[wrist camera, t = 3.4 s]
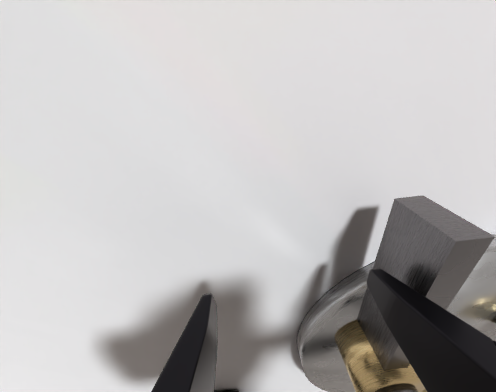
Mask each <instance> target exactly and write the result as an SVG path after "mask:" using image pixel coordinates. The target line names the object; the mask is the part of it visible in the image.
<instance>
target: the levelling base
mask: <svg viewBox="0 0 496 392" xmlns="http://www.w3.org/2000/svg"><path fill="white" fill-rule="evenodd" d="M493 236H494V237H495V238H494V239H493V241H492V242H491V244H490V245H489V247H488V248H487V250H486V251H485V253H484V254H483V256H482V257H481V259H480V260H479V262H478V263H477V265H476V266H475V268H474V269H473V271H472V272H471V274H470V275H469V277H468V278H467V280H466V281H465V283H464V284H463V286H462V287H461V288H460V290H459V291H458V293H457V294H456V296H455V297H454V299H453V300H452V302H451V303H450V305H449V306H448V308H447V309H446V310H447V311H449V312H450V313H452V314H453V315H455V316H457V317H458V318H460V319H461V320H463V321H464V322H466V323H468V324H469V325H471V326H472V327H474V328H476V329H477V330H479V331H480V332H482V333H483V334H485V335H487V336H488V337H490V338H491V339H492V340H494V341H496V235H493ZM374 263H375V262H373V263H371V264H370V265H368V266H366V267H364V268H362V269H360V270H358V271H357V272H355V273H353V274H352V275H350V276H349V277H347V278H346V279H344V280H343V281H341V282H340V283H338V284H337V285H336V286H335V287H333V288H332V289H331V290H329V291H328V292H327V293H326V294H325V295H324V296H323V297H322V298H321V299H320V300H319V301H317V302H316V304H315V305H314V306H313V307H312V308H311V310H310V311H309V312H308V313H307V315H306V317H305V318H304V320H303V322H302V323H301V326H300V329H299V331H298V337H297V346H298V351H299V355H300V359H301V363H302V367H303V371H304V373H305V376H306V377H307V378H308V380H309V381H310V382H311V383H312V384H314V385H315V386H317V387H318V388H320V389H322V390H325V391H328V392H356V391H355V389H354V386H353V384H352V381H351V379H350V376H349V374H348V371H347V369H346V366H345V364H344V361H343V359H342V356H341V354H340V351H339V349H338V347H337V344H336V342H335V338H334V337H335V334H336V332H337V331H338V330H339V329H340V328H341V327H342V326H344V325H345V324H347V323H349V322H351V321H354V320H357V317H358V314H359V311H360V308H361V304H362V301H363V298H364V295H365V292H366V289H367V278H368V274H369V271H370V270H371V269H373V266H374ZM422 392H427V391H426V389H424V390H423V391H422Z"/></svg>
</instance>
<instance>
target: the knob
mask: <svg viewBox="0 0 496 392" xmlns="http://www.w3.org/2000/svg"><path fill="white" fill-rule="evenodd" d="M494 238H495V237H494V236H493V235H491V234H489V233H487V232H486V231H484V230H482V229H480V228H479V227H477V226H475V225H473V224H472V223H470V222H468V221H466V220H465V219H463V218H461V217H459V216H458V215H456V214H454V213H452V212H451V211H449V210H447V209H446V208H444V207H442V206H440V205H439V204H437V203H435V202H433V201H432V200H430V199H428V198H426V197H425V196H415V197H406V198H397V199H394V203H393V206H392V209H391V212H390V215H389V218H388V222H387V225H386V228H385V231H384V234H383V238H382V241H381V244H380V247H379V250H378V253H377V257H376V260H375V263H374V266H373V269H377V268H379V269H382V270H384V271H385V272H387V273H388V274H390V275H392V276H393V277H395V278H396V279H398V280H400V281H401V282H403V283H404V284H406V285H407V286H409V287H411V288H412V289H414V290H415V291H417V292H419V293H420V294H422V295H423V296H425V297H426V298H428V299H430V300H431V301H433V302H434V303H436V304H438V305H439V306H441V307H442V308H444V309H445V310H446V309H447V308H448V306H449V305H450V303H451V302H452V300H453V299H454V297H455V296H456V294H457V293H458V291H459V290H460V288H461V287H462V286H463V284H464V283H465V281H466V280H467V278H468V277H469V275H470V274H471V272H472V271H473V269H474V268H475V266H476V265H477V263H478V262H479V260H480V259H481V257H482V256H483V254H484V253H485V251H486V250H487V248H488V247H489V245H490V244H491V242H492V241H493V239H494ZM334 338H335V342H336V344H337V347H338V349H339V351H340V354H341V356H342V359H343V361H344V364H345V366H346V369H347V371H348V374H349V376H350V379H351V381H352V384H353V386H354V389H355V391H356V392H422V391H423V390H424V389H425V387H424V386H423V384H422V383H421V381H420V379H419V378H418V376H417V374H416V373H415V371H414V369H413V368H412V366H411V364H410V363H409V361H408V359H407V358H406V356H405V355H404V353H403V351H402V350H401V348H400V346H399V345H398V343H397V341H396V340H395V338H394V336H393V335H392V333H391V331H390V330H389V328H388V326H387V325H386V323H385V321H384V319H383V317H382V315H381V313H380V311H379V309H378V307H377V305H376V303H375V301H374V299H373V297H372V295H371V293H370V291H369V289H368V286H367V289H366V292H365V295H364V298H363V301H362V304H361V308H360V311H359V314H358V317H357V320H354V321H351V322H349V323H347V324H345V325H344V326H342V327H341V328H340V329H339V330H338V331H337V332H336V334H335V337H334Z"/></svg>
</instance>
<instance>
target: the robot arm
mask: <svg viewBox="0 0 496 392" xmlns="http://www.w3.org/2000/svg"><path fill="white" fill-rule="evenodd" d="M367 286H368V289H369V291H370V293H371V295H372V297H373V299H374V301H375V303H376V305H377V307H378V309H379V311H380V313H381V315H382V317H383V319H384V321H385V323H386V325H387V326H388V328H389V330H390V331H391V333H392V335H393V336H394V338H395V340H396V341H397V343H398V345H399V346H400V348H401V350H402V351H403V353H404V355H405V356H406V358H407V359H408V361H409V363H410V364H411V366H412V368H413V369H414V371H415V373H416V374H417V376H418V378H419V379H420V381H421V383H422V384H423V386H424V387H425V389H426V391H427V392H496V341H494V340H492V339H491V338H490V337H488V336H487V335H485V334H483V333H482V332H480V331H479V330H477V329H476V328H474V327H472V326H471V325H469V324H468V323H466V322H464V321H463V320H461V319H460V318H458V317H457V316H455V315H453V314H452V313H450V312H449V311H447V310H445V309H444V308H442V307H441V306H439V305H438V304H436V303H434V302H433V301H431V300H430V299H428V298H426V297H425V296H423V295H422V294H420V293H419V292H417V291H415V290H414V289H412V288H411V287H409V286H407V285H406V284H404V283H403V282H401V281H400V280H398V279H396V278H395V277H393V276H392V275H390V274H388V273H387V272H385V271H384V270H382V269H379V268H377V269H371V270H370V271H369V274H368V278H367ZM216 359H217V306H216V302H215V299H214V296H213V294H212V293H210V294H204V295H203V296H202V298H201V299H200V301H199V303H198V305H197V307H196V309H195V311H194V313H193V314H192V316H191V318H190V320H189V322H188V324H187V326H186V328H185V329H184V331H183V333H182V335H181V337H180V339H179V341H178V343H177V344H176V346H175V348H174V350H173V352H172V354H171V356H170V358H169V359H168V361H167V363H166V365H165V367H164V369H163V371H162V373H161V375H160V376H159V378H158V380H157V382H156V384H155V386H154V388H153V390H152V391H151V392H214V382H215V370H216ZM230 392H239V391H230Z"/></svg>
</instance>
